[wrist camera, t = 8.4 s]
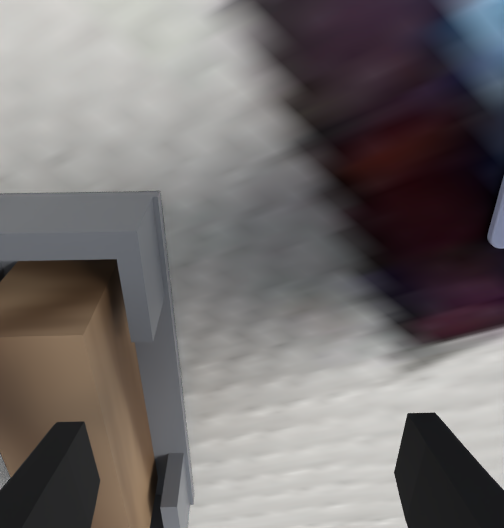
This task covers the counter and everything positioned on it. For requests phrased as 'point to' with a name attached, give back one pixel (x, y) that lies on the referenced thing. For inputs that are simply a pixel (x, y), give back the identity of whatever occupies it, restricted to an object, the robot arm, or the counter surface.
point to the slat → (76, 378)
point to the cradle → (135, 299)
